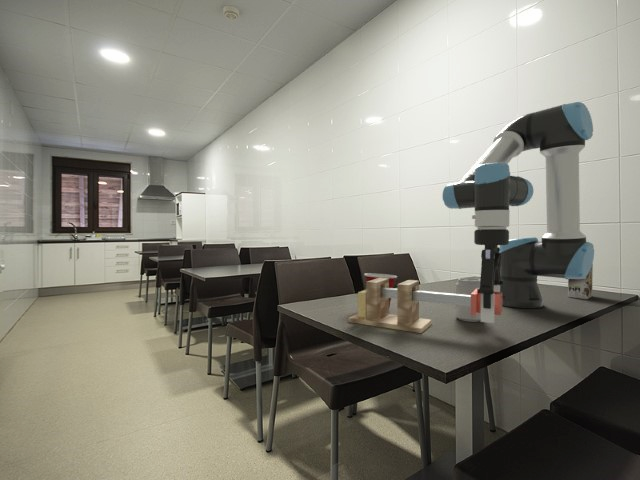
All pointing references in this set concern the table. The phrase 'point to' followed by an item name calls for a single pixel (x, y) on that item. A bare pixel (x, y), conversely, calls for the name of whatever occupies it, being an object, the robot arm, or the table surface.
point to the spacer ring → (362, 304)
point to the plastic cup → (374, 276)
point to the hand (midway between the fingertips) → (490, 315)
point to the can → (467, 288)
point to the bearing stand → (380, 307)
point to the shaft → (449, 299)
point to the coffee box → (581, 286)
